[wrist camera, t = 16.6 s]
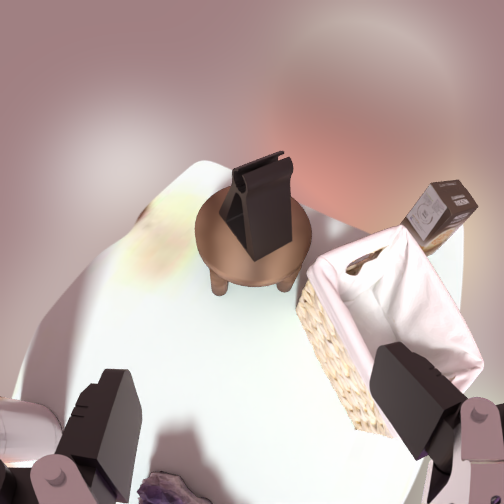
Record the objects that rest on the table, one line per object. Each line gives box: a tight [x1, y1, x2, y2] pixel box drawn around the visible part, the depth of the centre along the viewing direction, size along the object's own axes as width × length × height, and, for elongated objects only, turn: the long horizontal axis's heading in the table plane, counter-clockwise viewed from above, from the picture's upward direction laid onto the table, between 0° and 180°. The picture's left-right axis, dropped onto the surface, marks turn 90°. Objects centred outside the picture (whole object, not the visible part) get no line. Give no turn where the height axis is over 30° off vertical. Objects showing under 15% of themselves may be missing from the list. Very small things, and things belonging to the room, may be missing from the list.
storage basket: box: [296, 225, 484, 440], centre depth 36 cm, size 24×16×15 cm
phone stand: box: [219, 151, 293, 262], centre depth 35 cm, size 9×6×12 cm, turn 33°
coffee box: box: [400, 180, 478, 256], centre depth 46 cm, size 9×6×16 cm
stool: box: [195, 186, 312, 296], centre depth 44 cm, size 16×16×9 cm
